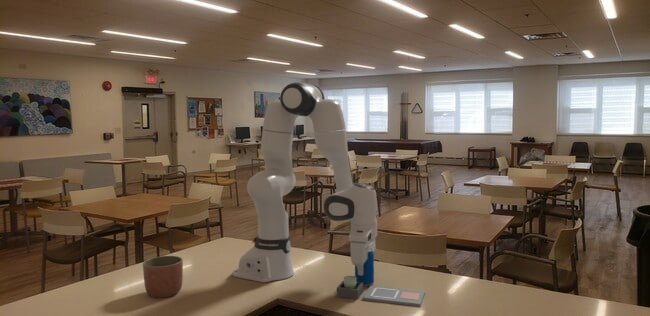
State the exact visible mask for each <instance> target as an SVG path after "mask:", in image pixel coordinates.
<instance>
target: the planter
mask: <svg viewBox="0 0 650 316" xmlns="http://www.w3.org/2000/svg"><path fill="white" fill-rule="evenodd" d="M183 264H184V263H183V258H182V257H181V256H177V255H161V256H160V255H159V256H155V257H151V258H148V259H146V260H145V261H143V262H142V270H143V282H144V288H145V292H146V293H147V295H148V296H150V297H153V298H157V299H159V298H162V297H163V298H168V297H172V296H175V295H177V294H178V293H179V292H180V291H181V289H182V286H183V277H184V275H183V272H184V269H183V267H184V266H183Z"/></svg>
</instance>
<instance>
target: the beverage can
mask: <svg viewBox="0 0 650 316" xmlns="http://www.w3.org/2000/svg"><path fill="white" fill-rule="evenodd" d="M374 260H375V253H374V252H373V251H372V249H370V251H369V252H368V258H367V260H366V261H365V263H364V265H363V269H364V274H363V275H362V276H361V275H358V269H357V265H354V276H355V277H356V282H361V283H363V287H370V286H372V284H373V283H374V282H375V272H374V271H375V267H374V265H375V261H374Z"/></svg>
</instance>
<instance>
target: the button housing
mask: <svg viewBox="0 0 650 316" xmlns="http://www.w3.org/2000/svg"><path fill="white" fill-rule="evenodd" d="M363 293H364V286H363V283H361V282H356V289H351V288H344V280H342V281H341V282H340V284H338V285H337V287H336V297H337V298H342V299H351V300H352V299H353V300H359V298H360V297H361V296H362V294H363Z"/></svg>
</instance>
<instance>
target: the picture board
mask: <svg viewBox="0 0 650 316" xmlns="http://www.w3.org/2000/svg"><path fill="white" fill-rule="evenodd" d="M425 295H426V291H424V290H417V289H407V288H397V287H387V286H377V285H370V286H368V289H367V290H366V292H365V293H364V295H363V296H362V301H368V302H369V301H370V302H379V303H387V304H394V305H395V304H396V305H405V306H411V307H412V306H413V307H421V306H422V304H423V300H424V297H425Z"/></svg>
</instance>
